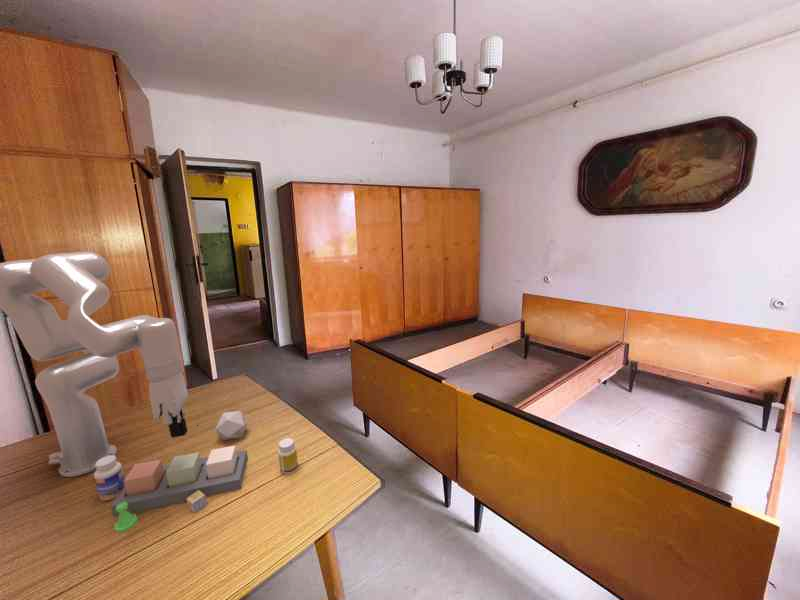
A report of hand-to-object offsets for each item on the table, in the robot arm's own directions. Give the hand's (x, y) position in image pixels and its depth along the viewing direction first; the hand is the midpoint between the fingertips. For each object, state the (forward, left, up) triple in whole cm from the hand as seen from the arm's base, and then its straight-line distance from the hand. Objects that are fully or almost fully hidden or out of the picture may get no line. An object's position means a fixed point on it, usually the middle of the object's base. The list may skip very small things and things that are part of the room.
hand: (179, 434), depth 84 cm
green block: (0, 0, -13) cm, 13 cm away
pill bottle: (-18, +3, -16) cm, 24 cm away
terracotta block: (-9, 0, -13) cm, 16 cm away
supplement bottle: (+26, -2, -16) cm, 30 cm away
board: (0, 0, -16) cm, 16 cm away
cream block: (+9, 0, -13) cm, 16 cm away
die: (+8, +19, -16) cm, 26 cm away
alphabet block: (+4, -8, -16) cm, 18 cm away
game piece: (-11, -9, -16) cm, 21 cm away
